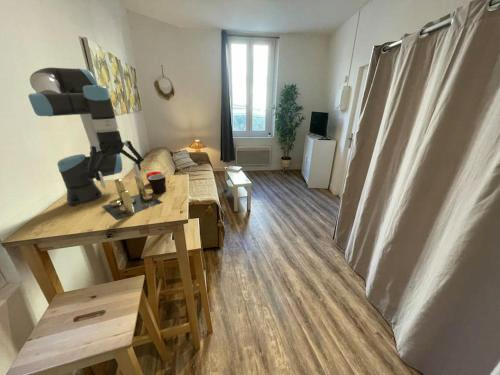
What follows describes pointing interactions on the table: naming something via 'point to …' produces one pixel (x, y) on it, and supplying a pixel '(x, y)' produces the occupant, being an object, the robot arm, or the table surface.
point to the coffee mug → (158, 183)
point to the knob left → (142, 189)
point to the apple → (152, 174)
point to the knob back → (120, 188)
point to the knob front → (127, 203)
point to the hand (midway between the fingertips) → (122, 182)
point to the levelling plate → (137, 204)
